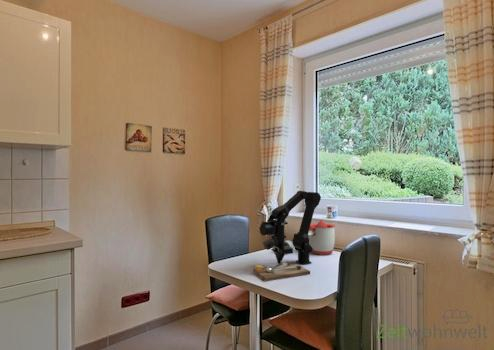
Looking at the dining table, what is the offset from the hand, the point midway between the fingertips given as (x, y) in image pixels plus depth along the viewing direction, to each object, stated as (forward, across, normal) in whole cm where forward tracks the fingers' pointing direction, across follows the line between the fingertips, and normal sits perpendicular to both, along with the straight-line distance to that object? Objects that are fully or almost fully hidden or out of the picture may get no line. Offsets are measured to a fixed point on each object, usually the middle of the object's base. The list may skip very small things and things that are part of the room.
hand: (279, 263), depth 159 cm
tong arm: (0, +6, -4) cm, 7 cm away
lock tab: (0, +5, -14) cm, 14 cm away
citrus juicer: (+2, -16, +37) cm, 41 cm away
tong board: (+2, +8, -3) cm, 9 cm away
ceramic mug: (+2, -26, +18) cm, 31 cm away
